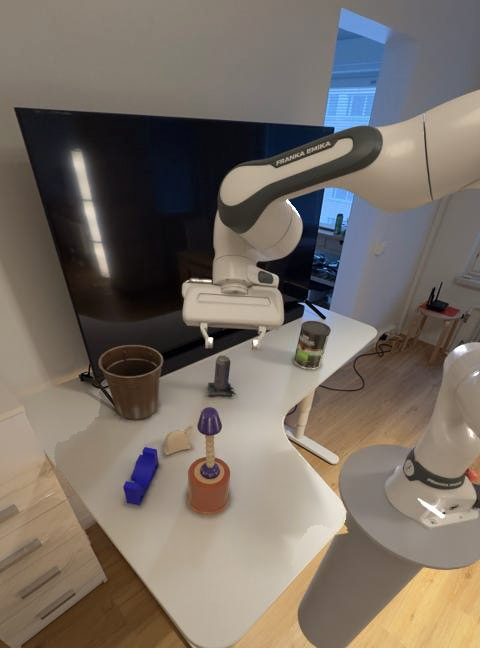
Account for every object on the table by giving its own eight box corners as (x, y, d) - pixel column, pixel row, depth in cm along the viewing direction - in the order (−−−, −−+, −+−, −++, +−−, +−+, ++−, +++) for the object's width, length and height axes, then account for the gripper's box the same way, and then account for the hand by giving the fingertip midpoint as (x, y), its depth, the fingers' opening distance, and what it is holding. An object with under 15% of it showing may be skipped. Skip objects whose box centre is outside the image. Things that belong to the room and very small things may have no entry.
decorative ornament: (161, 445, 90) (159, 430, 87) (191, 437, 93) (191, 423, 90) (165, 455, 88) (164, 441, 84) (196, 447, 91) (196, 433, 87)
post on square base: (229, 383, 114) (232, 351, 106) (236, 397, 108) (239, 364, 100) (202, 386, 111) (203, 353, 103) (208, 400, 106) (209, 367, 98)
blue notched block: (141, 462, 85) (138, 445, 81) (158, 465, 85) (156, 449, 81) (120, 501, 76) (116, 484, 72) (139, 505, 76) (136, 489, 72)
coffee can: (309, 373, 123) (318, 337, 113) (288, 360, 128) (295, 325, 118) (326, 364, 128) (336, 329, 119) (305, 352, 133) (313, 318, 124)
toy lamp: (198, 480, 71) (199, 420, 60) (195, 464, 74) (195, 404, 63) (221, 478, 72) (226, 418, 61) (217, 461, 75) (221, 402, 64)
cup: (228, 481, 83) (230, 455, 77) (229, 515, 76) (232, 489, 70) (188, 480, 82) (188, 454, 76) (186, 515, 75) (185, 489, 69)
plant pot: (158, 386, 109) (153, 340, 98) (173, 417, 99) (170, 370, 88) (104, 396, 103) (94, 349, 92) (114, 431, 93) (104, 382, 82)
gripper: (181, 269, 65) (178, 341, 64) (286, 277, 67) (285, 346, 66) (183, 284, 71) (181, 350, 71) (279, 291, 73) (278, 355, 73)
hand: (232, 348), depth 69 cm, fingers open, 8 cm apart
